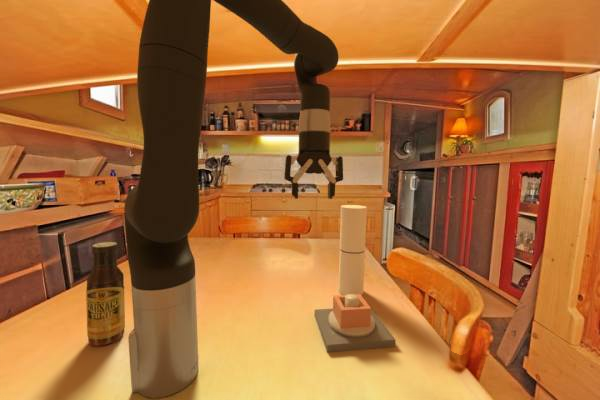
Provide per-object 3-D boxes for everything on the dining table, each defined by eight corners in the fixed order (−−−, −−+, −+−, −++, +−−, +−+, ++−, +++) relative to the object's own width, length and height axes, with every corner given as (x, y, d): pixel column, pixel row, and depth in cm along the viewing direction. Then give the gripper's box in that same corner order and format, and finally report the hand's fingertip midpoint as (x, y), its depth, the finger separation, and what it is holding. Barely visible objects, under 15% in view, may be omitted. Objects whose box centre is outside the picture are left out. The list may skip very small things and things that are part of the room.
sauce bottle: (83, 351, 50) (74, 250, 48) (93, 333, 56) (86, 242, 53) (124, 343, 53) (117, 246, 50) (130, 326, 58) (124, 239, 56)
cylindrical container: (344, 298, 72) (347, 208, 69) (334, 287, 79) (336, 205, 76) (367, 295, 74) (371, 208, 71) (356, 284, 81) (359, 204, 78)
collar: (340, 328, 54) (341, 310, 54) (332, 312, 60) (333, 295, 60) (370, 326, 55) (371, 308, 55) (359, 310, 61) (360, 294, 61)
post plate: (327, 352, 51) (327, 315, 50) (314, 315, 63) (315, 285, 63) (395, 346, 52) (397, 311, 52) (369, 312, 65) (370, 283, 64)
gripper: (286, 128, 58) (285, 200, 60) (347, 130, 60) (345, 200, 62) (283, 132, 66) (283, 197, 67) (338, 134, 68) (337, 197, 69)
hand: (313, 198), depth 65 cm, fingers open, 8 cm apart
